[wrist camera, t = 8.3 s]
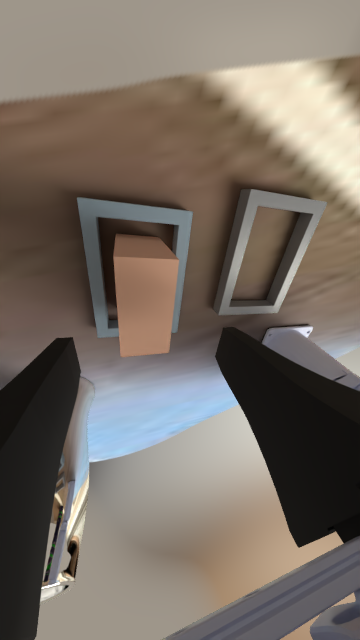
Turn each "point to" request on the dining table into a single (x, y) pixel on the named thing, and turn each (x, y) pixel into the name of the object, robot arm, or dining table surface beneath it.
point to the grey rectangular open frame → (290, 260)
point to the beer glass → (69, 501)
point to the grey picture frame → (92, 245)
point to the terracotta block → (144, 293)
